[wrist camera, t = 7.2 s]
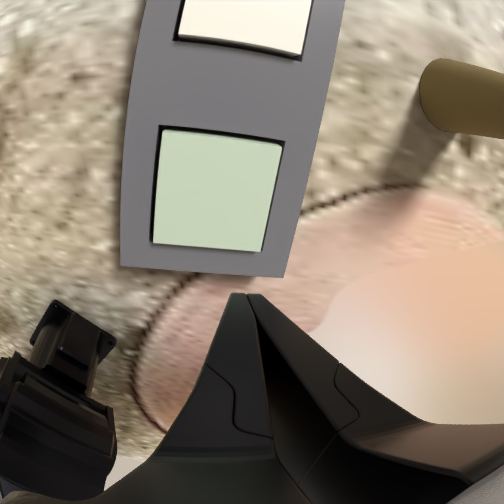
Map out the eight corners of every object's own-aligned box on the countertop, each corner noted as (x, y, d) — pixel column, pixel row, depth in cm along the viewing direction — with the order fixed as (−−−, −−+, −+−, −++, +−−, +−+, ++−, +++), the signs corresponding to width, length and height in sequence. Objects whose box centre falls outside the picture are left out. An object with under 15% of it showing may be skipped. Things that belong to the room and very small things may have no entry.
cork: (417, 127, 21) (533, 170, 11) (419, 50, 18) (541, 56, 8) (469, 135, 21) (572, 178, 12) (472, 67, 18) (581, 87, 9)
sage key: (251, 228, 21) (260, 251, 19) (158, 220, 20) (153, 242, 17) (268, 138, 19) (282, 147, 16) (168, 125, 17) (162, 132, 15)
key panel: (271, 251, 23) (283, 277, 20) (130, 239, 21) (120, 265, 18) (330, -34, 14) (353, -50, 11) (176, -63, 12) (174, -88, 9)
